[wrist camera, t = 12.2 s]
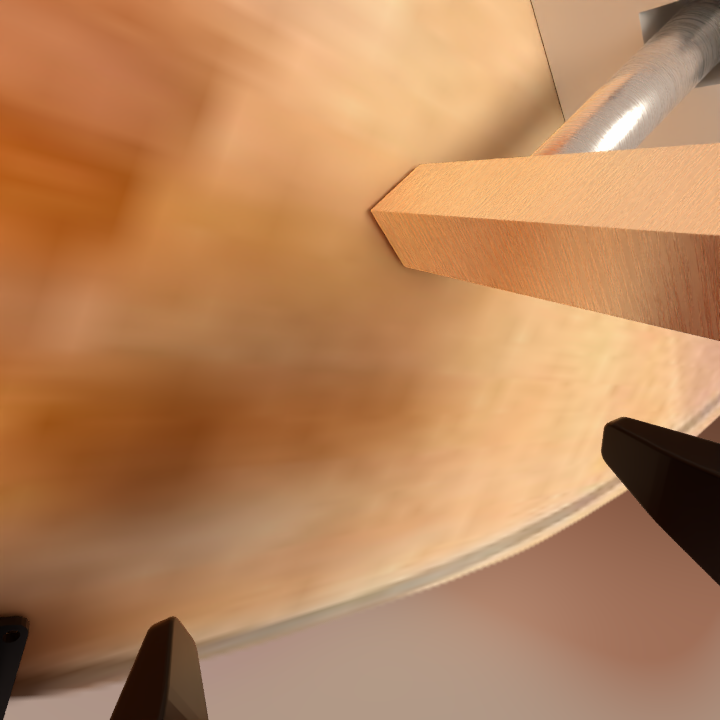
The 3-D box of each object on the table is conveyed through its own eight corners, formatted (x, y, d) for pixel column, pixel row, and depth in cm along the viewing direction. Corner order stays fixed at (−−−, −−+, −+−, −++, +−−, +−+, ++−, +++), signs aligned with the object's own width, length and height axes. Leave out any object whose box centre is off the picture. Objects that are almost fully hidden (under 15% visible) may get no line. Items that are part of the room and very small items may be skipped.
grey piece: (404, 266, 20) (754, 349, 10) (370, 210, 19) (748, 237, 8) (608, 67, 23) (1059, -35, 13) (594, 2, 21) (1101, -180, 11)
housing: (583, 186, 25) (809, 185, 18) (511, -71, 19) (824, -256, 11) (648, 119, 26) (888, 90, 19) (601, -146, 20) (946, -365, 12)
